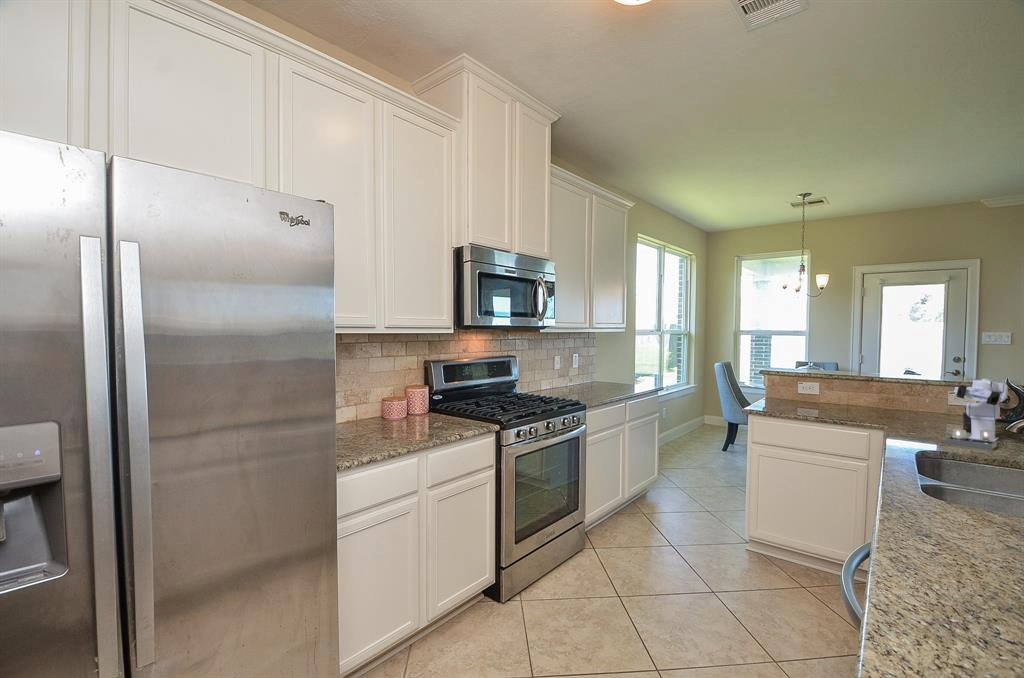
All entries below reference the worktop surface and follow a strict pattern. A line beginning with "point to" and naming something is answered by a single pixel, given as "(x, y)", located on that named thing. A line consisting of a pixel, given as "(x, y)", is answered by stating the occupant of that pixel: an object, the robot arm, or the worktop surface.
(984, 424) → the robot arm
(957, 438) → the billet
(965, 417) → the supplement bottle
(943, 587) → the worktop surface
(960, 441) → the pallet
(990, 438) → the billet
